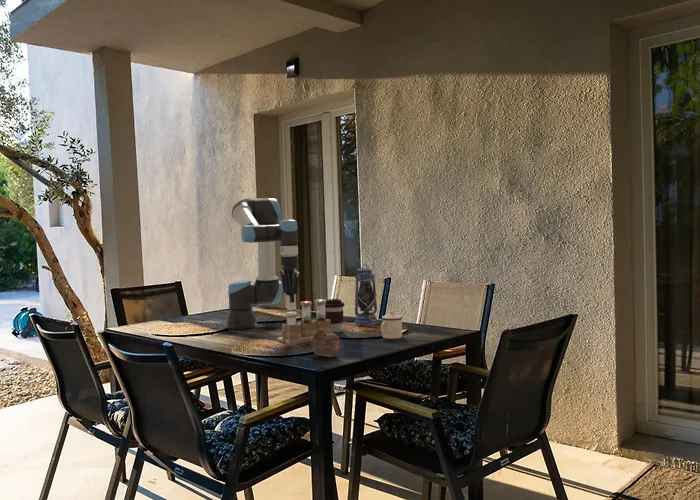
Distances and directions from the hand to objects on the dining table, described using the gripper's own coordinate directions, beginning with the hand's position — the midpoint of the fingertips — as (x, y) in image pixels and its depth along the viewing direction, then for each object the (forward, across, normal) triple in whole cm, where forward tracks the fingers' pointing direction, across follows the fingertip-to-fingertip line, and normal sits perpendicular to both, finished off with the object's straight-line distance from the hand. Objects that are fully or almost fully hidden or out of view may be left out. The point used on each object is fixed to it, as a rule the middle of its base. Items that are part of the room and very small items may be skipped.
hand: (290, 309), depth 262 cm
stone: (+14, +35, -6) cm, 38 cm away
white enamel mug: (+14, +25, +35) cm, 45 cm away
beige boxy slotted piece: (+14, 0, +8) cm, 16 cm away
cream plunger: (+11, 0, 0) cm, 11 cm away
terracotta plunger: (+8, 0, +8) cm, 11 cm away
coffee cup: (+14, -6, +28) cm, 32 cm away
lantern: (+14, -12, +53) cm, 56 cm away
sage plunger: (+8, 0, +16) cm, 18 cm away
